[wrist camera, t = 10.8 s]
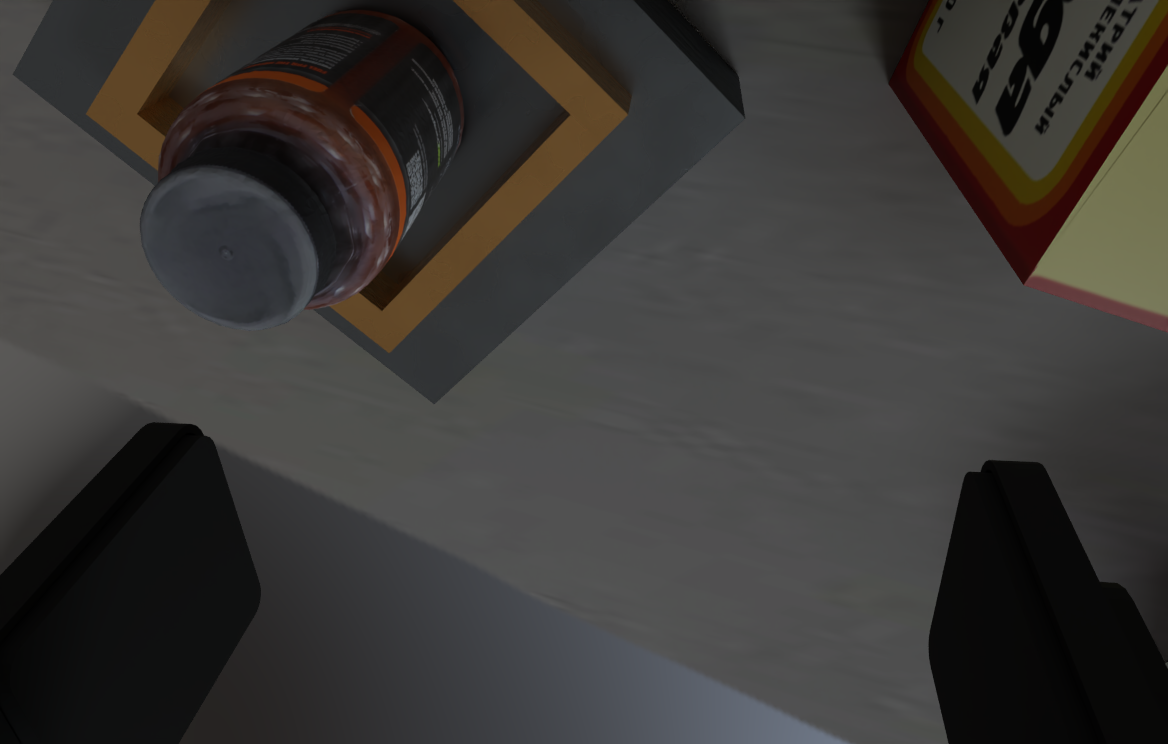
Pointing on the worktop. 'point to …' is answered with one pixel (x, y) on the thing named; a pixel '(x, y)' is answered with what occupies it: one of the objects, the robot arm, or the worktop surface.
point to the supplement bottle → (301, 170)
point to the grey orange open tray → (482, 161)
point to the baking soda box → (1055, 138)
